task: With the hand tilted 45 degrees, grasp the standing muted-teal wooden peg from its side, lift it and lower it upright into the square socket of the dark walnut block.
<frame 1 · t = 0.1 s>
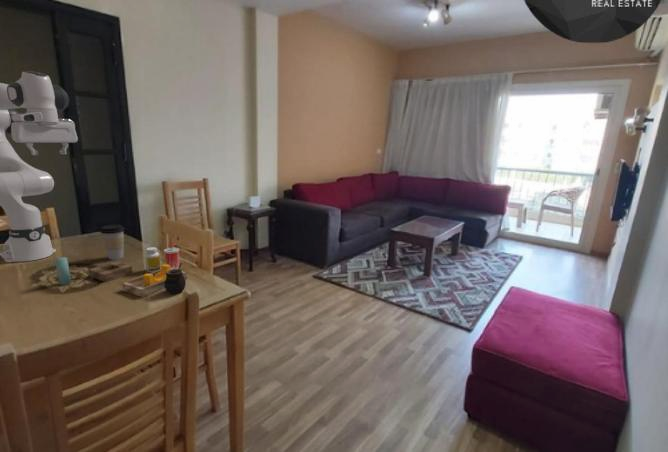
hand: (49, 154, 135), 48 cm above the table, tool pointing down, fingers open, 8 cm apart
socket block: (111, 274, 143), on the table
clamp corral: (156, 284, 136), on the table
beverage cup: (173, 269, 151), on the table
pipe clamp: (156, 285, 136), resting in clamp corral
supplement bottle: (153, 270, 150), on the table
mate gourd: (175, 291, 131), on the table
coffee cup: (116, 257, 163), on the table
peg: (65, 283, 134), on the table
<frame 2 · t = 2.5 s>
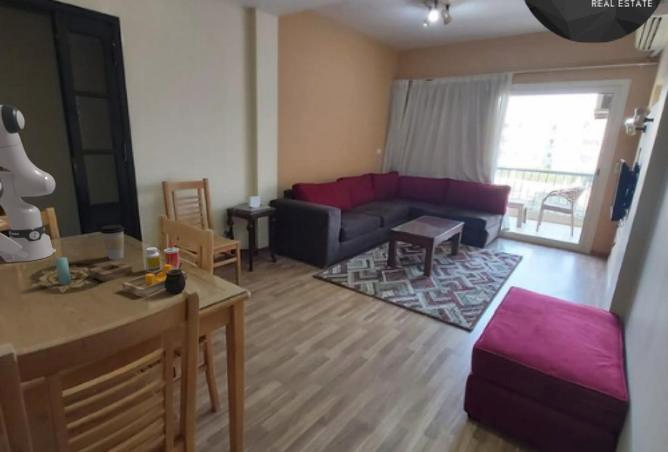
hand: (19, 253, 119), 16 cm above the table, tool tilted 45°, fingers open, 8 cm apart
pipe clamp: (158, 285, 136), resting in clamp corral
everything else where it was.
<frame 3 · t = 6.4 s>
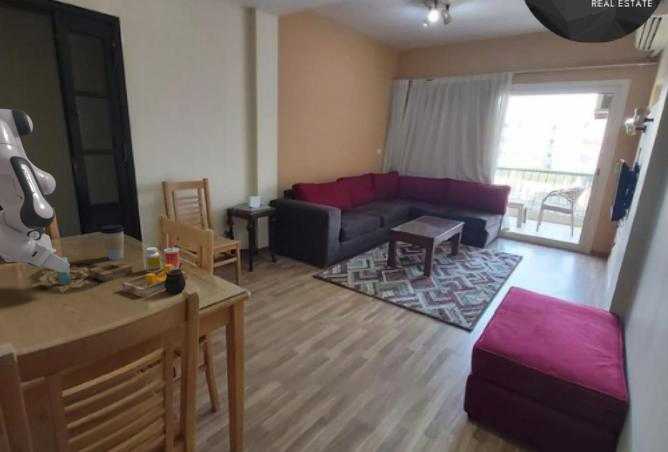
hand: (65, 269, 133), 5 cm above the table, tool tilted 45°, fingers closed on peg, 4 cm apart
pipe clamp: (159, 285, 136), resting in clamp corral
peg: (65, 283, 134), on the table, touching gripper
everything else where it was.
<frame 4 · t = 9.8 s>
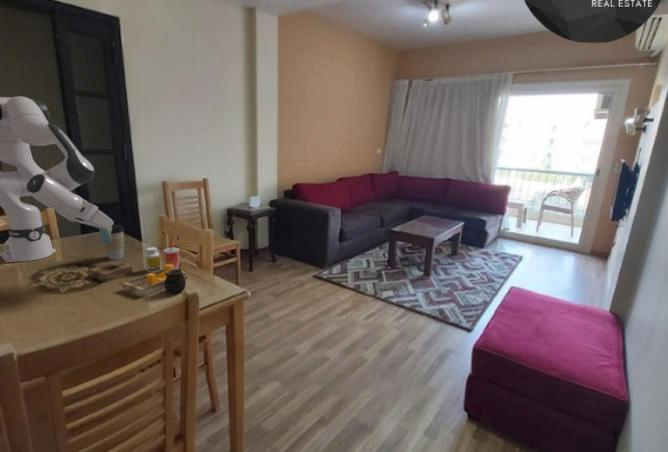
hand: (106, 229, 139), 19 cm above the table, tool tilted 45°, fingers closed on peg, 4 cm apart
peg: (106, 242, 140), point 14 cm above the table, touching gripper
everything else where it was.
when the fingers open (7 cm above the table, at t = 13.1 s): peg drops 1 cm, resting in socket block.
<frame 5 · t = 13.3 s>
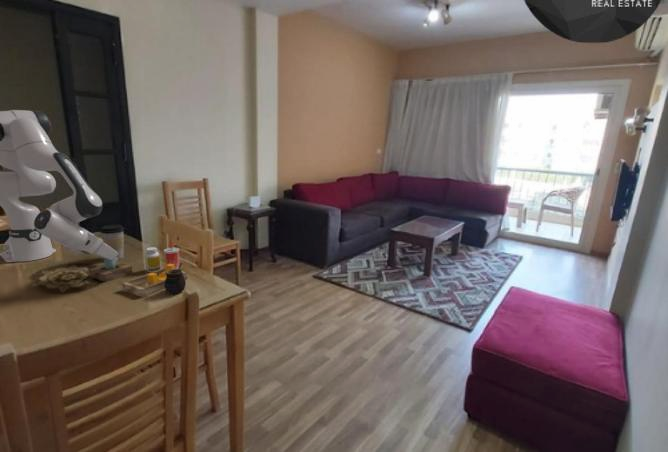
hand: (110, 258, 142), 7 cm above the table, tool tilted 45°, fingers open, 6 cm apart
peg: (111, 274, 143), resting in socket block
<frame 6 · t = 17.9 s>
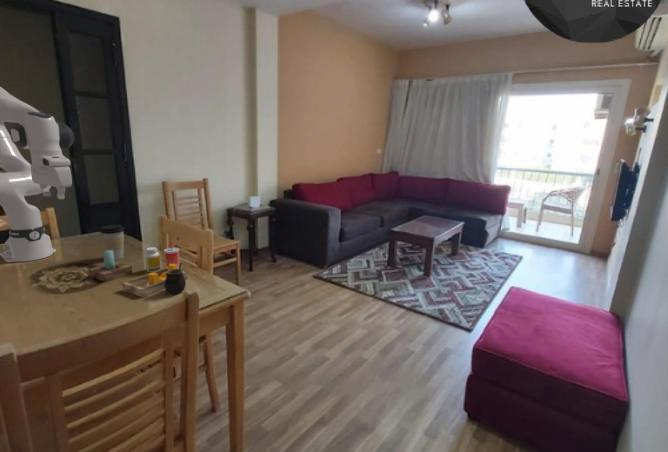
hand: (54, 197, 128), 33 cm above the table, tool pointing down, fingers open, 8 cm apart
at the end: peg 0.1 cm off-centre on the socket block, point 0.0 cm above the socket block's base; peg tilted 0°; the gripper is holding nothing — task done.
